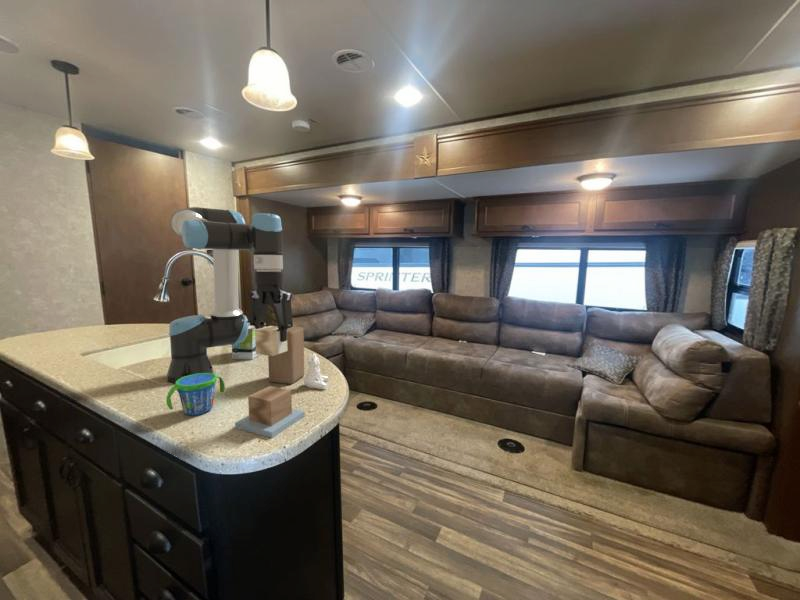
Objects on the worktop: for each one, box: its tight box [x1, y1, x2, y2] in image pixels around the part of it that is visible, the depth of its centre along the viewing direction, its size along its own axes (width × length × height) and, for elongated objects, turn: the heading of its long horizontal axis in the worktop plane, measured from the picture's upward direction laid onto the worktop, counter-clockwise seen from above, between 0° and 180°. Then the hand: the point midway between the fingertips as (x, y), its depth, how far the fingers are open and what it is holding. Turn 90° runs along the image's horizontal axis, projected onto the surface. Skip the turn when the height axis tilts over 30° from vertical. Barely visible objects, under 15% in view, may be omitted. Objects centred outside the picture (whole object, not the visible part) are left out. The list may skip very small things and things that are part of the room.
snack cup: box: [166, 373, 226, 416], centre depth 99 cm, size 16×10×10 cm
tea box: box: [231, 322, 267, 361], centre depth 156 cm, size 15×10×15 cm, turn 179°
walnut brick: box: [247, 385, 293, 426], centre depth 93 cm, size 8×8×7 cm
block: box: [267, 325, 305, 385], centre depth 125 cm, size 10×10×20 cm
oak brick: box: [255, 325, 288, 356], centre depth 94 cm, size 6×6×7 cm
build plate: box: [234, 408, 306, 439], centre depth 93 cm, size 13×13×2 cm
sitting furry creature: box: [303, 353, 329, 391], centre depth 120 cm, size 10×9×12 cm
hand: (272, 351), depth 94 cm, fingers closed on oak brick, 6 cm apart
